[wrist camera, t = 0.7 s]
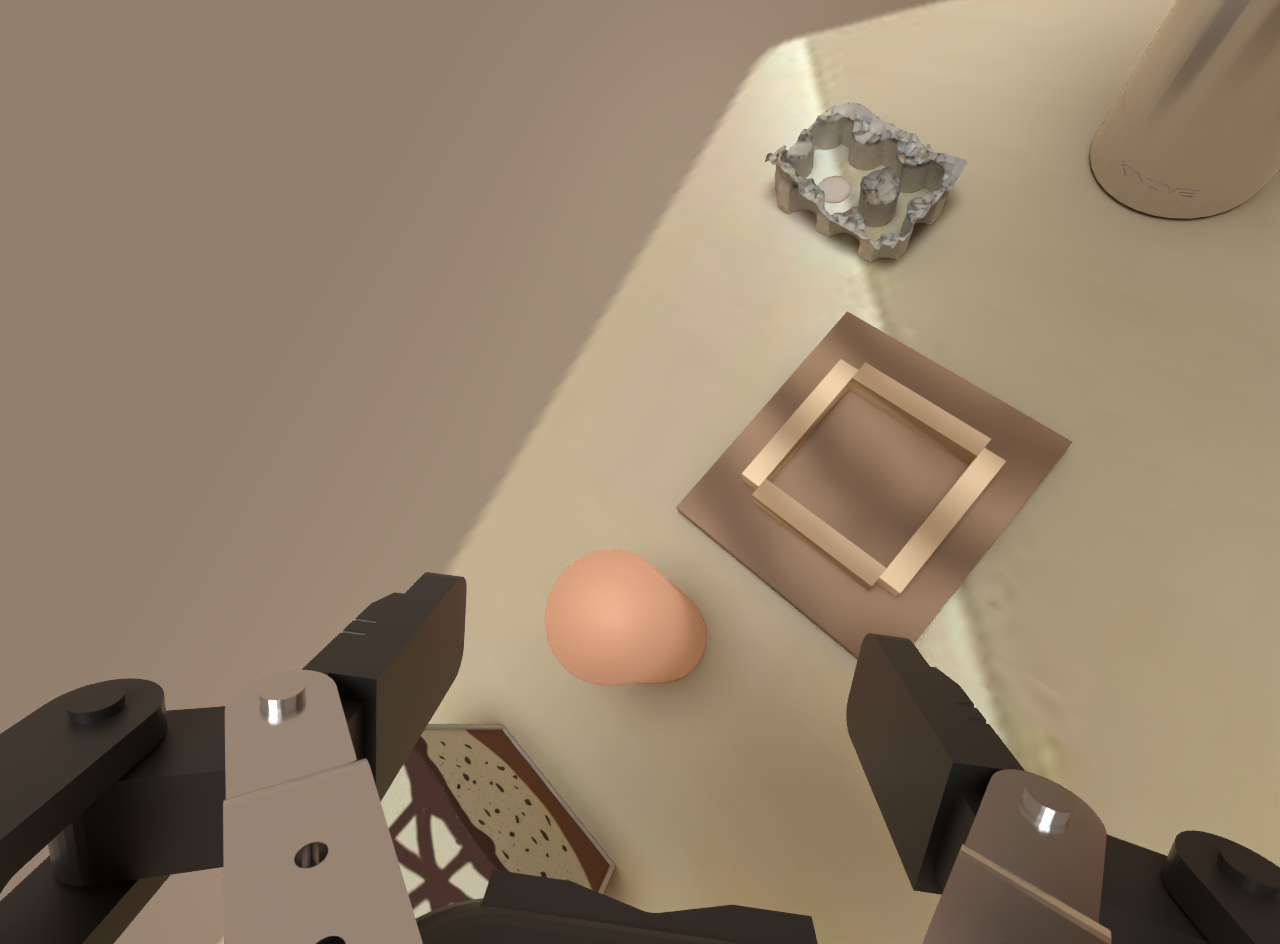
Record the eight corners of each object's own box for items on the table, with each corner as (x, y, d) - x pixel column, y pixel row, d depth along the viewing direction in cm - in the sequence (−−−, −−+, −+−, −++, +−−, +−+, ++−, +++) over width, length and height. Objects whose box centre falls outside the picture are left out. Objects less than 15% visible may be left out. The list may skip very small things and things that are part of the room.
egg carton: (758, 200, 42) (756, 153, 38) (833, 132, 43) (839, 79, 39) (878, 282, 38) (889, 238, 34) (960, 206, 39) (980, 155, 35)
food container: (410, 787, 34) (274, 829, 25) (487, 704, 34) (382, 715, 25) (550, 989, 29) (447, 1134, 20) (636, 890, 30) (575, 987, 21)
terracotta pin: (658, 572, 35) (605, 524, 24) (725, 631, 33) (700, 608, 22) (601, 638, 34) (519, 620, 23) (665, 702, 32) (610, 715, 21)
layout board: (845, 320, 37) (850, 297, 35) (1064, 448, 32) (1086, 431, 30) (678, 511, 36) (672, 500, 33) (881, 678, 31) (891, 679, 28)
